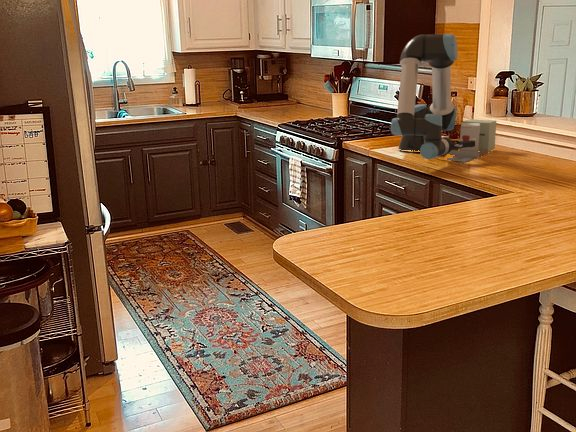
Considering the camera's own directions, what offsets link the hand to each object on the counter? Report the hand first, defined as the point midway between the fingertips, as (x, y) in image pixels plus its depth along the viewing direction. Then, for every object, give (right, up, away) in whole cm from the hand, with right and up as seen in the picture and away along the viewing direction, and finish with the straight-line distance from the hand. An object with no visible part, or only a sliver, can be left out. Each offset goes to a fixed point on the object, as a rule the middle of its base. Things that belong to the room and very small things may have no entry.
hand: (461, 139), depth 302 cm
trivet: (-2, -9, -1) cm, 10 cm away
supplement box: (+6, -6, +10) cm, 13 cm away
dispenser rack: (+9, -5, +12) cm, 16 cm away
